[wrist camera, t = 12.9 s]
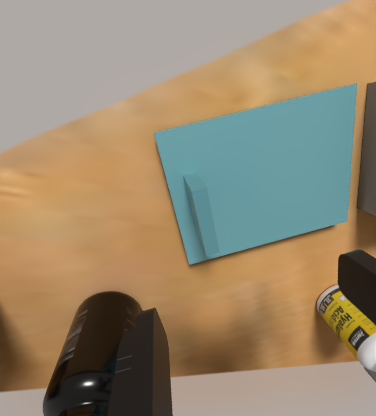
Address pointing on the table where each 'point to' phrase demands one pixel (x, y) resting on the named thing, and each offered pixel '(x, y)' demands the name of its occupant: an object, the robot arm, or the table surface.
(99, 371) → the supplement bottle
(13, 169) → the table surface
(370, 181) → the slate tub
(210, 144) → the teal lid
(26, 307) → the table surface
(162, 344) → the robot arm
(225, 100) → the table surface
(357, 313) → the supplement bottle
